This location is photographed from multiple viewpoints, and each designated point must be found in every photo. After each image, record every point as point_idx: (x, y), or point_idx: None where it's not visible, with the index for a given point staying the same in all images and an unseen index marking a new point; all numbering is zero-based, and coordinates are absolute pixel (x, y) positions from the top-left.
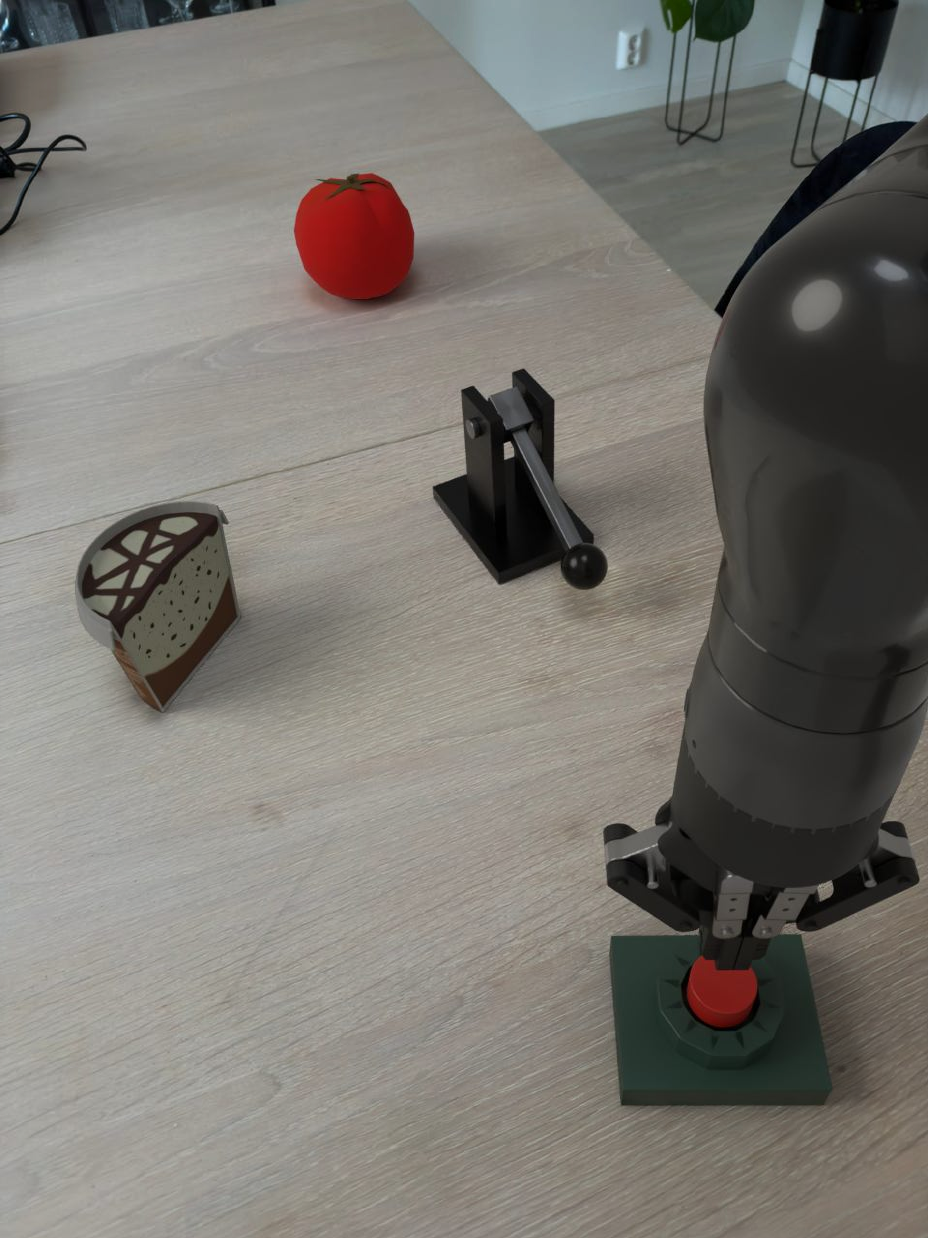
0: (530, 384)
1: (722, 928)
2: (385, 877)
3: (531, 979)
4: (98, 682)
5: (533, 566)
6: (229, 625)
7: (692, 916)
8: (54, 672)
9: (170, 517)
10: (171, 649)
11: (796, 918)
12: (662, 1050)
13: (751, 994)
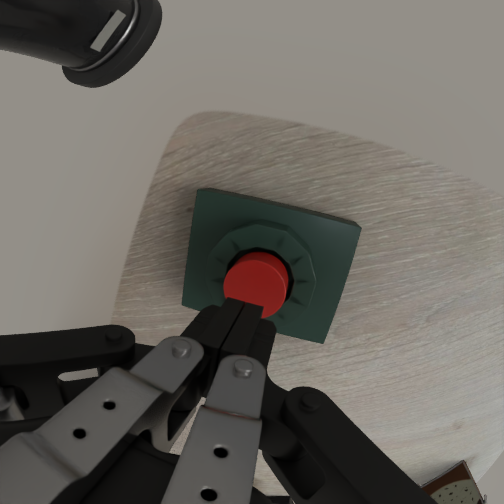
0: None
1: (248, 381)
2: (429, 394)
3: (381, 323)
4: (472, 466)
5: (269, 498)
6: None
7: (298, 424)
8: (481, 467)
9: None
10: (453, 488)
11: (129, 355)
12: (319, 250)
13: (232, 272)
